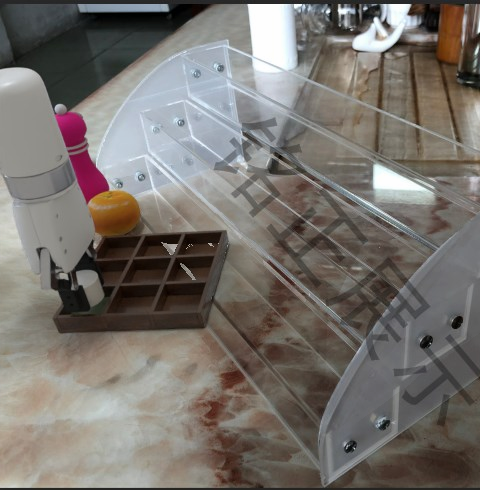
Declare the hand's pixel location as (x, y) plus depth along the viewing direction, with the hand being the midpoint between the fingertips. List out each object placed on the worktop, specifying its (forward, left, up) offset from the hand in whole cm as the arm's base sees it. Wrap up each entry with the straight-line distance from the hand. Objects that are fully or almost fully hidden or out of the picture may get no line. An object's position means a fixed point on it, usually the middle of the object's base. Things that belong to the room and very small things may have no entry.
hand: (85, 296), depth 80 cm
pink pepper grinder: (-10, +29, -3) cm, 31 cm away
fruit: (-3, +22, -3) cm, 22 cm away
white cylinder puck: (0, 0, 0) cm, 0 cm away
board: (+7, +6, -3) cm, 10 cm away
